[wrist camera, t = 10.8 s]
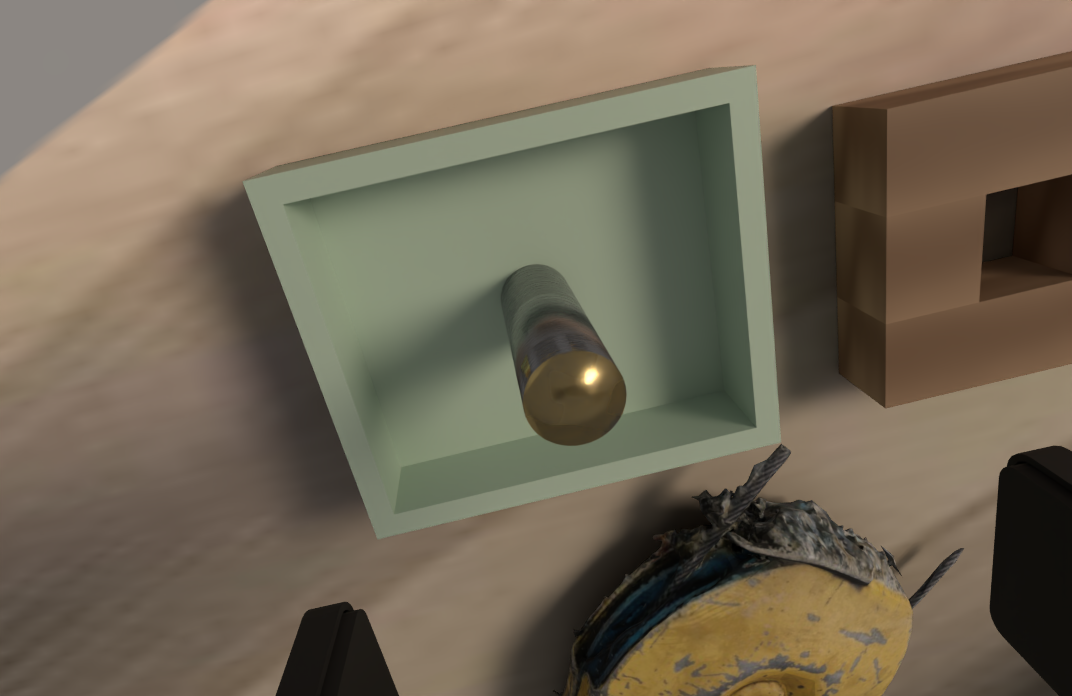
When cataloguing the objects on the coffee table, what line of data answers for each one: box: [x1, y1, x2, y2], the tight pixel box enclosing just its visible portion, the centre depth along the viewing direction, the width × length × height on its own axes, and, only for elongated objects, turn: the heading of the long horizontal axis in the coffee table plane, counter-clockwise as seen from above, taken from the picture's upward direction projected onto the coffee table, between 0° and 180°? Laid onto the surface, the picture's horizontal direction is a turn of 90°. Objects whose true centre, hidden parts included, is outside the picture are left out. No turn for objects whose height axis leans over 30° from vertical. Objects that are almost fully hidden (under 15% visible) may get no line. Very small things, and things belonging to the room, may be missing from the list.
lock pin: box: [501, 264, 627, 446], centre depth 19 cm, size 2×2×8 cm
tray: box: [242, 65, 781, 539], centre depth 21 cm, size 12×14×4 cm
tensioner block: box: [832, 51, 1072, 408], centre depth 22 cm, size 10×10×3 cm
